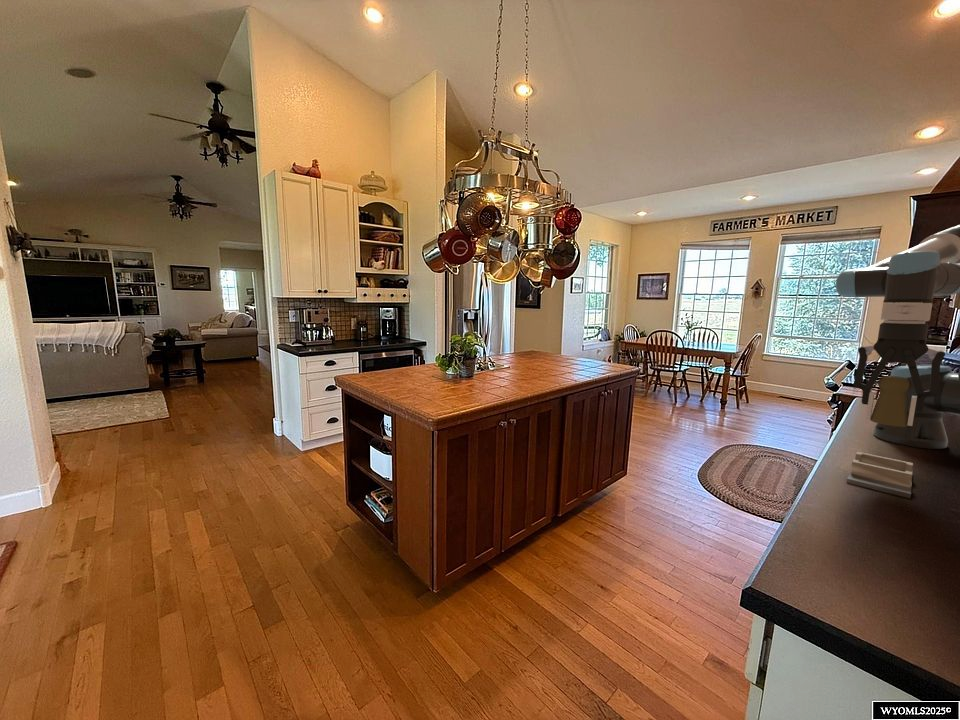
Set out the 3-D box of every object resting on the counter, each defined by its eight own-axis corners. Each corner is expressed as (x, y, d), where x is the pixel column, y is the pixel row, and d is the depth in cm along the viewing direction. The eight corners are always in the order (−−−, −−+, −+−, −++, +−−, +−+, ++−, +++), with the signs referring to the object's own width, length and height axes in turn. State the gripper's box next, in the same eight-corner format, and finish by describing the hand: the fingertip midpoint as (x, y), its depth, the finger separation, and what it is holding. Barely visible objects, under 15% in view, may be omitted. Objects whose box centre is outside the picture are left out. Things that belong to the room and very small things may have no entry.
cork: (915, 427, 87) (923, 379, 86) (883, 425, 88) (890, 378, 87) (892, 419, 93) (900, 374, 91) (863, 418, 94) (869, 373, 93)
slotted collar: (855, 461, 102) (857, 447, 102) (911, 474, 95) (914, 458, 94) (846, 482, 91) (849, 466, 90) (910, 498, 83) (913, 480, 83)
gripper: (844, 321, 92) (831, 415, 95) (973, 324, 78) (952, 434, 81) (848, 320, 97) (836, 410, 100) (970, 323, 83) (951, 427, 86)
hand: (888, 421), depth 91 cm, fingers closed on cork, 6 cm apart
